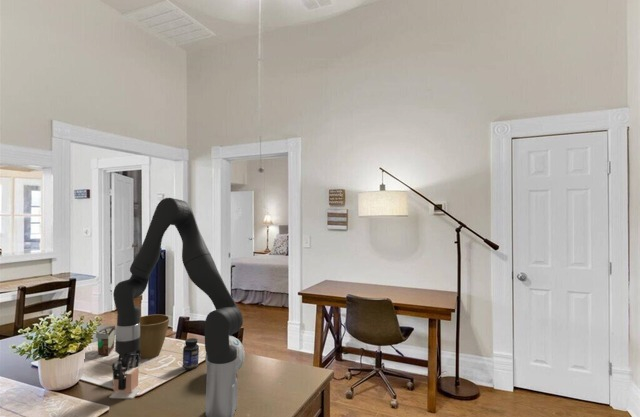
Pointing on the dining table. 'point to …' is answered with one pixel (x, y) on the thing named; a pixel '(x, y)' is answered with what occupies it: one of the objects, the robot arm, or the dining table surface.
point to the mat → (125, 394)
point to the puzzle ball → (240, 351)
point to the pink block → (129, 380)
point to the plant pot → (152, 334)
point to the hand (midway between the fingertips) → (126, 385)
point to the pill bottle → (190, 354)
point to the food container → (105, 340)
